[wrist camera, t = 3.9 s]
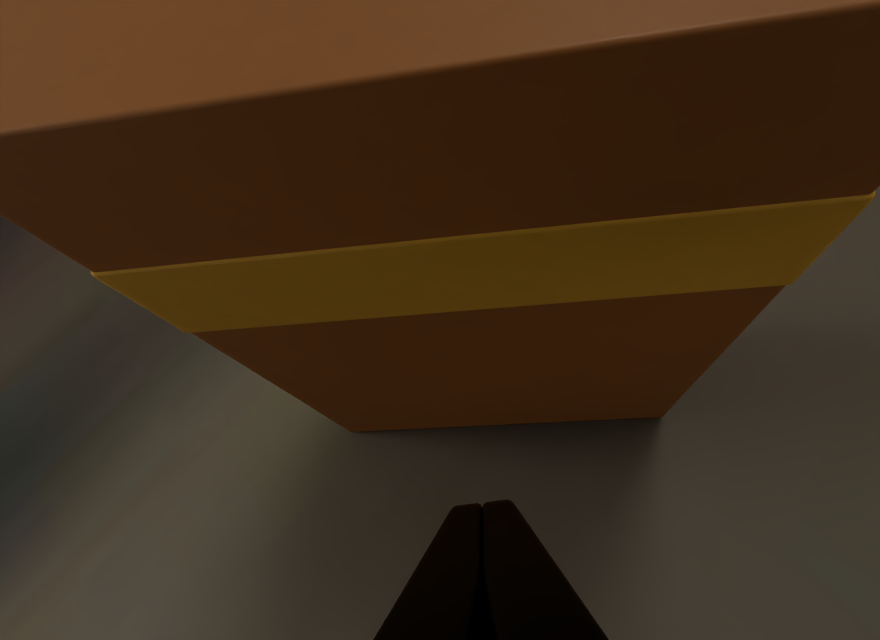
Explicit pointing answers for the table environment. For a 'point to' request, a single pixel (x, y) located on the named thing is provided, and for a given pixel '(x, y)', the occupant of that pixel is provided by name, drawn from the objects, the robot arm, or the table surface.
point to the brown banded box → (445, 184)
